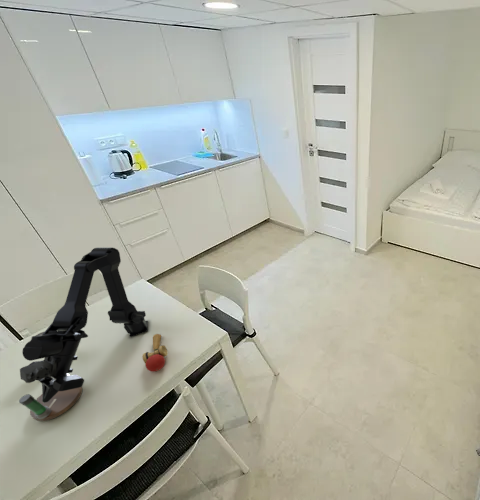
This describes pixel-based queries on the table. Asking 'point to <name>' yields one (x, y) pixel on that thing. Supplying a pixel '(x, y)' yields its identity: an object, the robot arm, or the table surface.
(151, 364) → the kendama
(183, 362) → the table surface
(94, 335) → the table surface
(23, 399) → the disc
